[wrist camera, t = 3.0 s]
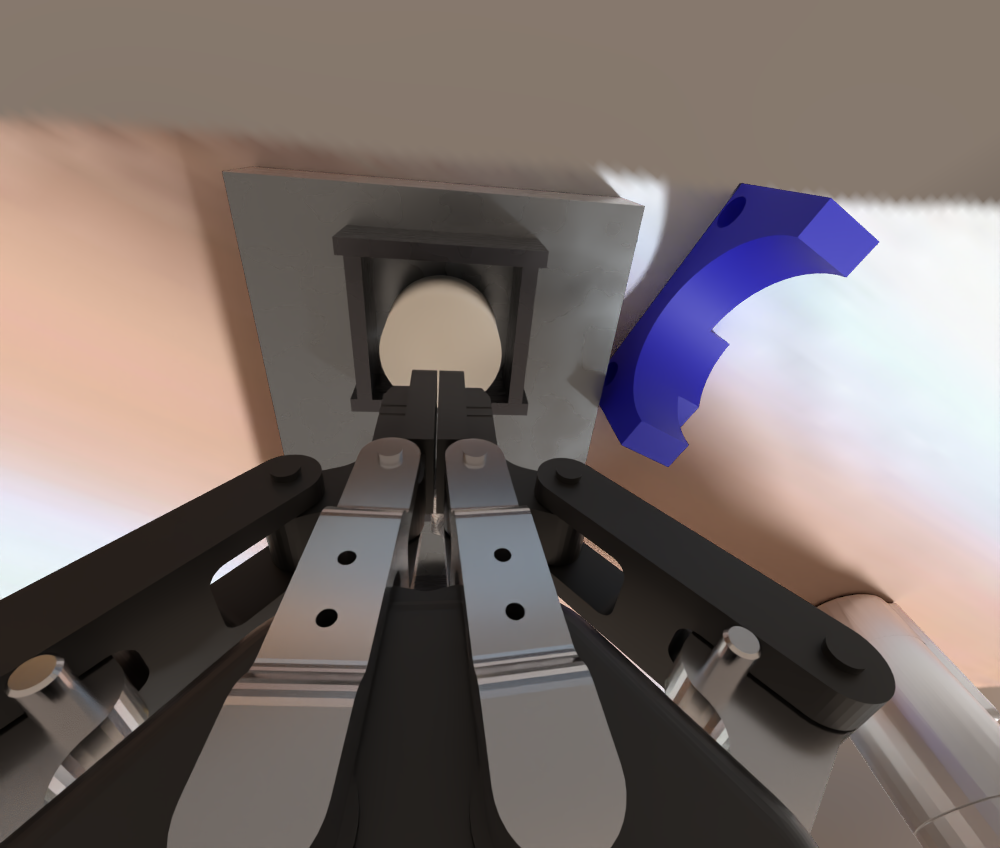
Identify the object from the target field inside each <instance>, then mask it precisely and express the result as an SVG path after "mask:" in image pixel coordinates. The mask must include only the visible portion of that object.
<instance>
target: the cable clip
mask: <svg viewBox="0 0 1000 848" xmlns="http://www.w3.org/2000/svg"><path fill="white" fill-rule="evenodd" d="M733 192H735V193H734V194H733V196H732V197H731V198H730V200H729V201H728V202H727V204H726V205H725V206H724V208H723V209H722V210H721V212H720V213H719V214H718V216H717V217H716V218H715V220H714V221H713V222H712V224H711V225H710V226H709V228H708V229H707V230H706V232H705V233H704V234H703V236H702V237H701V238H700V240H699V241H698V242H697V244H696V245H695V246H694V248H693V249H692V250H691V252H690V253H689V254H688V256H687V257H686V258H685V260H684V261H683V262H682V264H681V265H680V266H679V268H678V269H677V270H676V272H675V273H674V274H673V276H672V277H671V278H670V280H669V281H668V282H667V284H666V285H665V286H664V288H663V289H662V290H661V292H660V293H659V294H658V296H657V297H656V298H655V300H654V301H653V303H652V304H651V305H650V307H649V308H648V309H647V311H646V312H645V313H644V315H643V316H642V317H641V319H640V320H639V321H638V323H637V324H636V325H635V327H634V328H633V329H632V331H631V332H630V333H629V335H628V336H627V337H626V339H625V340H624V341H623V343H622V344H621V345H620V347H619V348H618V349H617V351H616V352H615V353H614V355H613V356H612V357H611V359H610V360H609V364H608V368H607V372H606V377H605V381H604V385H603V389H602V394H601V398H600V402H599V405H600V407H601V409H602V410H603V412H604V414H605V416H606V418H607V420H608V421H609V423H610V425H611V427H612V429H613V431H614V432H615V434H616V436H617V438H618V440H619V442H620V443H621V445H623V446H625V447H627V448H629V449H631V450H633V451H635V452H637V453H639V454H641V455H644V456H646V457H648V458H650V459H652V460H654V461H656V462H658V463H660V464H662V465H665V466H667V467H669V466H670V465H671V464H672V463H673V461H674V460H675V459H676V458H677V457H678V456H679V455H680V454H681V453H682V452H683V451H684V450H685V449H686V448H687V447H688V445H689V444H688V443H687V441H686V440H685V438H684V436H683V434H682V431H681V428H680V427H681V426H682V425H683V424H684V423H685V422H686V421H687V420H688V419H689V417H690V416H691V415H692V414H693V413H694V412H695V411H696V410H697V409H698V408H699V404H700V399H701V395H702V391H703V388H704V386H705V383H706V380H707V378H708V376H709V374H710V372H711V370H712V369H713V367H714V365H715V363H716V362H717V360H718V359H719V357H720V356H721V355H722V353H723V352H724V351H725V349H726V348H727V347H728V346H729V345H730V344H729V343H727V342H726V341H725V340H723V339H722V338H721V337H719V336H718V335H717V334H715V333H714V332H712V331H711V330H712V329H713V327H714V326H715V325H716V324H717V323H718V322H719V321H720V320H721V319H722V318H723V317H724V316H725V315H726V314H727V313H729V312H730V311H731V310H732V309H733V308H735V307H736V306H737V305H738V304H740V303H741V302H742V301H744V300H745V299H747V298H748V297H750V296H751V295H753V294H754V293H756V292H758V291H760V290H762V289H763V288H765V287H768V286H770V285H772V284H774V283H777V282H779V281H782V280H785V279H788V278H791V277H795V276H800V275H805V274H814V273H828V274H835V275H840V276H843V277H847V276H848V275H849V274H850V273H851V272H852V271H853V270H854V269H855V267H856V266H857V265H858V264H859V263H860V262H861V261H862V260H863V259H864V258H865V257H866V256H867V255H868V254H869V253H870V251H871V250H872V249H873V248H874V247H875V246H876V245H877V244H878V243H879V241H878V240H877V239H876V238H875V237H874V236H872V235H871V234H870V233H869V232H868V231H867V230H866V229H865V228H864V227H862V226H861V225H860V224H859V223H858V222H857V221H856V220H855V219H854V218H853V217H851V216H850V215H849V214H848V213H847V212H846V211H845V210H844V209H843V208H842V207H840V206H839V205H838V204H837V203H836V202H835V201H834V200H833V199H832V198H828V197H822V196H816V195H810V194H804V193H798V192H792V191H786V190H780V189H774V188H768V187H762V186H756V185H750V184H744V183H739V185H738V186H737V187H736V189H735V190H734V191H733Z"/></svg>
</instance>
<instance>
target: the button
mask: <svg viewBox="0 0 1000 848" xmlns="http://www.w3.org/2000/svg"><path fill="white" fill-rule="evenodd" d="M379 354H380V361H381V364H382V368H383V370H384V372H385V375H386V376H387V378H388V380H389V381H390V382H391V384H392V385H393V386H410V380H411V374H412V370H437V408H438V395H439V370H444V371H464V378H465V388H482V389H483V390H484V391H486V390H487V389H488V388H489V386H490V385H491V384H492V383H493V381H494V379H495V378H496V376H497V373H498V371H499V368H500V364H501V358H502V350H501V342H500V338H499V334H498V329H497V325H496V321H495V317H494V313H493V310H492V308H491V306H490V304H489V302H488V301H487V299H486V298H485V296H484V295H483V294H482V293H481V292H480V291H479V290H478V289H477V288H475V287H474V286H473V285H471V284H470V283H468V282H466V281H464V280H462V279H459V278H456V277H452V276H445V275H435V276H428V277H425V278H421V279H419V280H417V281H414V282H413V283H411V284H410V285H408V286H407V287H406V288H404V289H403V290H402V291H401V292H400V294H399V295H398V296H397V298H396V299H395V301H394V303H393V305H392V307H391V310H390V312H389V315H388V318H387V321H386V324H385V326H384V329H383V332H382V335H381V339H380V345H379Z"/></svg>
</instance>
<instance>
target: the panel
mask: <svg viewBox="0 0 1000 848" xmlns="http://www.w3.org/2000/svg"><path fill="white" fill-rule="evenodd" d="M222 173H223V178H224V182H225V187H226V192H227V196H228V201H229V205H230V210H231V214H232V219H233V224H234V228H235V233H236V237H237V242H238V246H239V251H240V255H241V260H242V265H243V269H244V274H245V278H246V283H247V287H248V292H249V297H250V301H251V306H252V310H253V315H254V319H255V324H256V329H257V333H258V338H259V342H260V347H261V351H262V356H263V360H264V365H265V370H266V374H267V379H268V383H269V388H270V392H271V397H272V402H273V406H274V411H275V415H276V420H277V424H278V429H279V433H280V438H281V443H282V447H283V452H284V455H294V454H296V455H306V456H309V457H312V458H314V459H315V460H317V461H318V462H319V463H320V465H321V468H322V470H327V469H332V468H337V467H341V466H345V465H348V464H351V463H353V462H355V461H356V459H357V457H358V455H359V452H360V451H361V449H362V448H363V447H364V446H365V445H367V444H368V443H370V442H372V439H373V435H374V431H375V427H376V423H377V419H378V415H379V411H380V407H381V403H382V399H383V395H384V394H385V393H386V392H387V391H388V390H389V389H390V388H391V387H392V386H393V385H392V384H391V382H390V381H389V380H388V378H387V376H386V375H385V372H384V370H383V368H382V364H381V361H380V354H379V345H380V339H381V335H382V332H383V329H384V326H385V324H386V321H387V318H388V315H389V312H390V310H391V307H392V305H393V303H394V301H395V299H396V298H397V296H398V295H399V294H400V292H401V291H402V290H403V289H404V288H406V287H407V286H408V285H410V284H411V283H413V282H414V281H417V280H419V279H421V278H425V277H428V276H435V275H445V276H452V277H456V278H459V279H462V280H464V281H466V282H468V283H470V284H471V285H473V286H474V287H475V288H477V289H478V290H479V291H480V292H481V293H482V294H483V295H484V296H485V298H486V299H487V301H488V302H489V304H490V306H491V308H492V310H493V313H494V317H495V321H496V325H497V329H498V334H499V338H500V342H501V350H502V358H501V364H500V368H499V371H498V373H497V376H496V378H495V379H494V381H493V383H492V384H491V385H490V386H489V388H488V389H487V390H486V391H485V392H486V393H487V394H488V395H489V396H490V400H491V407H492V413H493V420H494V426H495V433H496V439H497V446H498V447H499V448H500V449H501V450H502V451H503V454H504V457H505V459H506V460H508V461H509V462H511V463H513V464H514V465H517V466H520V467H523V468H527V469H532V470H536V471H538V468H539V466H540V465H541V464H542V463H543V462H545V461H547V460H549V459H553V458H569V459H574V460H577V461H580V462H582V463H584V464H585V463H586V459H587V454H588V450H589V446H590V441H591V437H592V433H593V428H594V424H595V420H596V415H597V411H598V407H599V402H600V398H601V394H602V389H603V385H604V381H605V377H606V372H607V368H608V364H609V359H610V355H611V351H612V346H613V342H614V338H615V333H616V329H617V325H618V320H619V316H620V312H621V307H622V303H623V299H624V294H625V290H626V286H627V281H628V277H629V273H630V268H631V264H632V260H633V255H634V251H635V247H636V242H637V238H638V234H639V229H640V225H641V221H642V216H643V212H644V208H645V206H643V205H640V204H638V203H635V202H632V201H629V200H627V199H624V198H620V197H608V196H597V195H585V194H573V193H561V192H549V191H537V190H525V189H514V188H502V187H490V186H478V185H466V184H454V183H442V182H431V181H419V180H407V179H395V178H383V177H371V176H359V175H348V174H336V173H324V172H312V171H300V170H288V169H276V168H265V167H247V168H240V169H234V170H227V171H222ZM437 420H438V408H437ZM436 464H437V438H436V462H435V487H434V490H435V489H436ZM445 587H447V578H446V567H445V555H444V543H443V538H442V537H441V535H436V534H434V533H432V531H431V514H425V521H424V527H423V530H422V542H421V548H420V554H419V560H418V566H417V572H416V578H415V584H414V590H419V591H433V590H437V589H441V588H445Z"/></svg>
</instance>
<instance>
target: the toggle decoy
mask: <svg viewBox="0 0 1000 848" xmlns="http://www.w3.org/2000/svg"><path fill="white" fill-rule="evenodd" d="M443 528H444V514H436V489H435V490H434V511H433V514H431V531H432V533H434V534H436V535H441V537H442V538H443Z"/></svg>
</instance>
